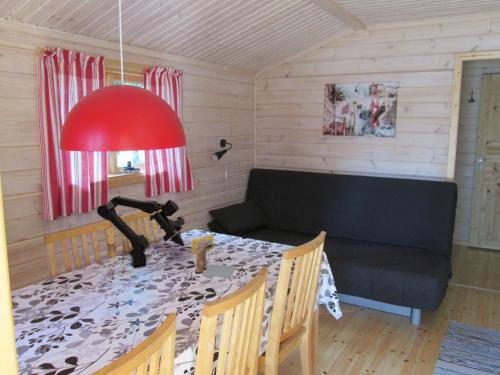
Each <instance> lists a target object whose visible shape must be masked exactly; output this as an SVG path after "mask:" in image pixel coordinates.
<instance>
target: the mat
mask: <svg viewBox="0 0 500 375" xmlns="http://www.w3.org/2000/svg"><path fill="white" fill-rule="evenodd" d="M236 268H237V265H228V264H226V265H225V264H224V265H223V264H208V266H207V267H206V268H205V270H204V271H203V272H202V275H201V276H202V277H203V276H205V277H217V278H231V277H232V275H233V273H234V271H235V270H236Z"/></svg>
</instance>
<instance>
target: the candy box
mask: <svg viewBox="0 0 500 375" xmlns="http://www.w3.org/2000/svg"><path fill="white" fill-rule="evenodd" d="M214 236H215V235H214V234H209V235H205V236H201V237H199V238H195V239H192V241H191V242H192V244H191V255H196V253H197V251H198V250H199V249H206V251H208V250H212V249H214Z"/></svg>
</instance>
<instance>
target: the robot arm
mask: <svg viewBox="0 0 500 375" xmlns="http://www.w3.org/2000/svg"><path fill="white" fill-rule="evenodd" d="M118 206H122V207H125V208H126V207H127V208H132V209H137V210H139V211H141V212H143V213H146V214H148V215H150V216H149V221H151V222H152V221H153V220H154V221H155V222H156V223H157V225H158V226H159V228H160V230H163V231H164V233H165V234H164V235H163V236H162V237H163V238H162V239H163V241H164V242H165V243H166V242H168V241H169V242H172V243H175V244H177V245H179V246H181V247H184V246H186V245H185V243H184V240H183V238H182V236H181V233H182V229H183V228H184V227H183V226H184V225H185V224H186V222H185V220H186V219H185V218H184V217H183V216H178V217H177V218H176V219H174V220H173V219H170V218H169V217H172V216H173V215H175V214H176V213H177V212H178V211H179V210H180V207H179V206H178V204H177V203H176V202H175V201H173V200H172V199H169V200H167V201H166V202H165V203H164V204H162V203H159V202H158V201H157V200H150V199H149V200H138V199H134V198H129V197H124V196H119V195H117V196H114V197H112V199H111V200H109V201H107V202H105V203H104V204H103V203H102V204H101V205H99V206H98V207H97V209H96V213H97V215H98V216H99V217H100V218H102V219H103V220H106V221H109V222H110V223H111V225H113V226H114V227H115V228H116V229H117V230H118V231H119V232H120V233H121V234H122V235H123V236H124V237H125V238H126V239H127V240H128V241H129V243H130V244H131V245H130V246H131V247H132V249H131V250H129V255H130V257H131V259H130V260H131V263H130V266H132V267H133V269H136V268H137V269H138V268H142V267H147V256H146V253H145V252H147V249H149V247H150V242H149V239H148V238H147V237H146V236H145V235H144V234H140V235H139V234H137V233H136V232H135V231H134V230H133V229H132V228H131V227H130V226H129V225H128V224H127V223H126V222H125V221H124V220H123V219H122V218H121V217H120V216H119V215H118V213H117V211H116V208H117V207H118Z"/></svg>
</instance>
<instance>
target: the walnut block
mask: <svg viewBox="0 0 500 375" xmlns="http://www.w3.org/2000/svg"><path fill="white" fill-rule="evenodd" d="M206 252H207V250H206V249H199V250H198V251H197V253H196V254H195V255H196V273H204V272H205V270H206V269H207V253H206Z"/></svg>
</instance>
